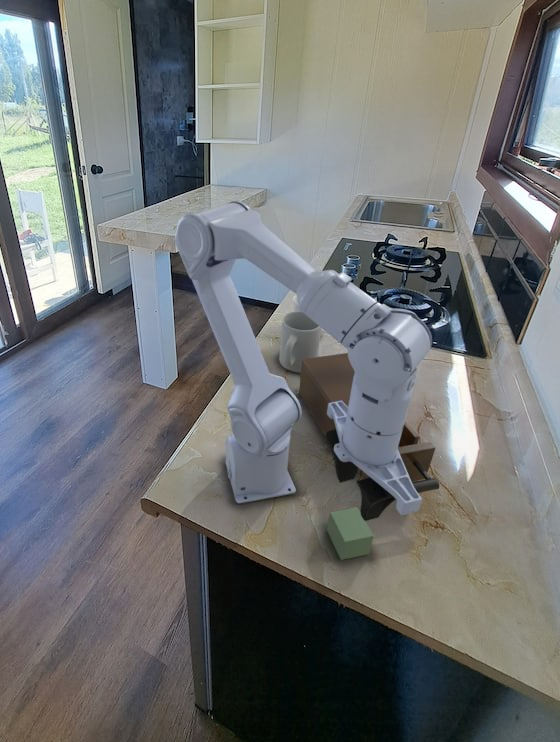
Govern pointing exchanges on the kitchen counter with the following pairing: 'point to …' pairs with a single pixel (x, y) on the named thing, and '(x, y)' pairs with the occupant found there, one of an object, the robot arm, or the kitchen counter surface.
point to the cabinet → (325, 386)
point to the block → (349, 533)
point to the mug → (298, 340)
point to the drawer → (415, 460)
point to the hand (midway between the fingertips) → (357, 496)
